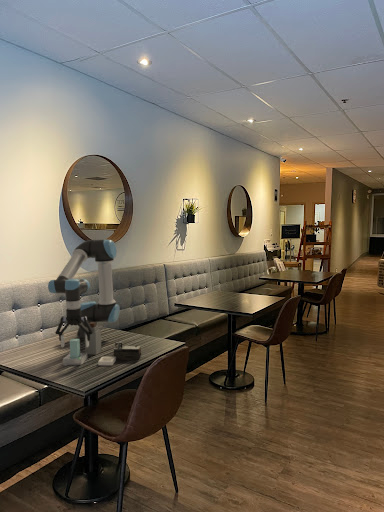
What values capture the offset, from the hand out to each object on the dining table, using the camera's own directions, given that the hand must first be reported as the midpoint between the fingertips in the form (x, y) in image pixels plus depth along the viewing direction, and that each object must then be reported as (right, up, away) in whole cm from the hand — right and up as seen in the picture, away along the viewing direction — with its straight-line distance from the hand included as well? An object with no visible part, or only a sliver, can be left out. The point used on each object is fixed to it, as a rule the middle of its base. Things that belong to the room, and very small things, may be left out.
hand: (75, 346), depth 216 cm
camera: (+28, -8, +4) cm, 29 cm away
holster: (+18, -9, -3) cm, 20 cm away
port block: (0, -9, 0) cm, 9 cm away
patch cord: (-1, -8, +11) cm, 14 cm away
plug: (0, -8, 0) cm, 8 cm away
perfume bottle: (+6, -8, +15) cm, 18 cm away
